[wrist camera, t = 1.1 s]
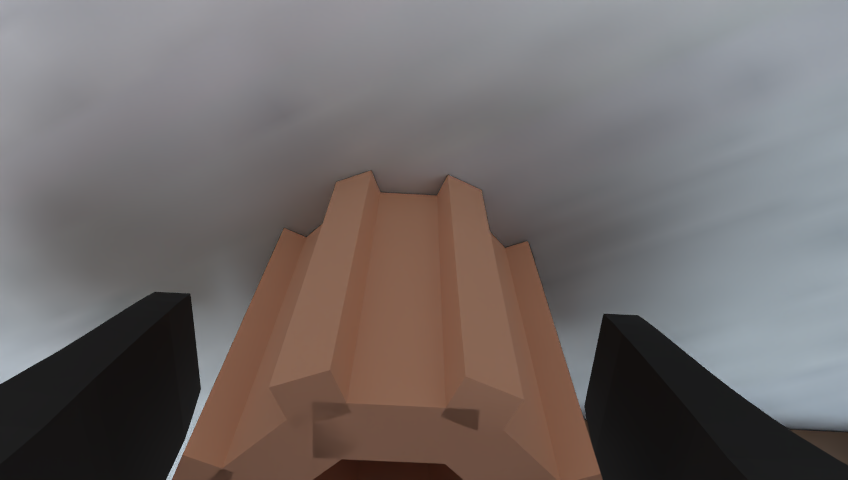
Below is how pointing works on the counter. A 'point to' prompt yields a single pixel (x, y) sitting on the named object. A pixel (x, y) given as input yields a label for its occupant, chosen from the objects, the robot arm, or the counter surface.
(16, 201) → the counter surface
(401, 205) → the gear
